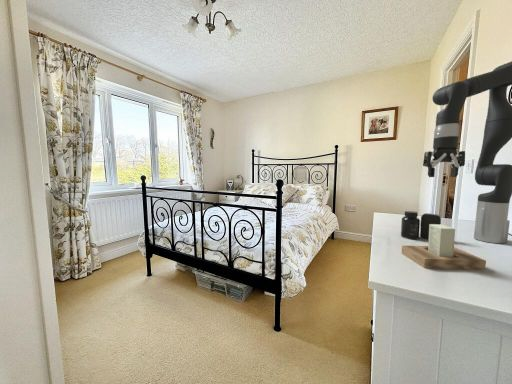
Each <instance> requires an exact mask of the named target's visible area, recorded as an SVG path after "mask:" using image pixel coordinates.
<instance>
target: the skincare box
mask: <svg viewBox="0 0 512 384" xmlns="http://www.w3.org/2000/svg"><path fill="white" fill-rule="evenodd" d="M455 236H456V228H454V227H451V226H448V225H446V224H442V223H441V224H429V239H428V245H427V246H428V251H430V252H432V253H434V254H436V255H437V256H439V257H453V255H454V247H455Z"/></svg>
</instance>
